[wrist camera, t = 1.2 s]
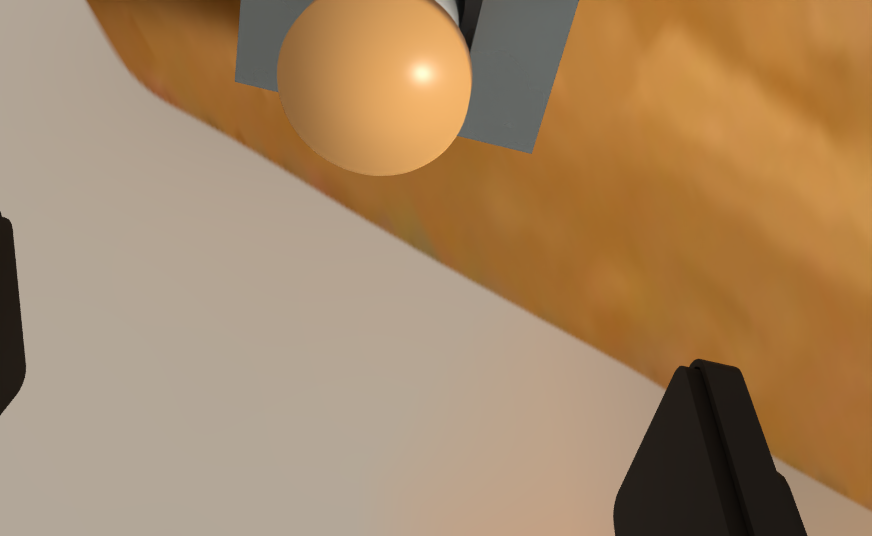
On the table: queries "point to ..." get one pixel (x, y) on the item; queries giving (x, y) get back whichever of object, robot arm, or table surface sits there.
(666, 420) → the robot arm
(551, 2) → the rail base
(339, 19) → the button
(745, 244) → the table surface
